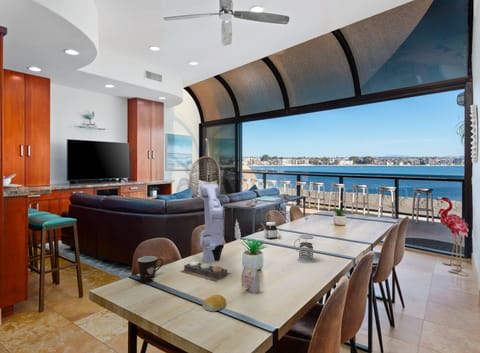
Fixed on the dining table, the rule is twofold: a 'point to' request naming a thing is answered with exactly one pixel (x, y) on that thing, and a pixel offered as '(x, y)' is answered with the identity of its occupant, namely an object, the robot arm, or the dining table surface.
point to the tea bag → (250, 279)
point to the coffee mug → (147, 268)
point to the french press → (305, 249)
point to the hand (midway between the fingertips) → (217, 260)
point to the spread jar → (271, 231)
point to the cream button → (193, 263)
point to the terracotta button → (217, 269)
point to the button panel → (205, 272)
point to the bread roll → (214, 303)
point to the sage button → (205, 266)
